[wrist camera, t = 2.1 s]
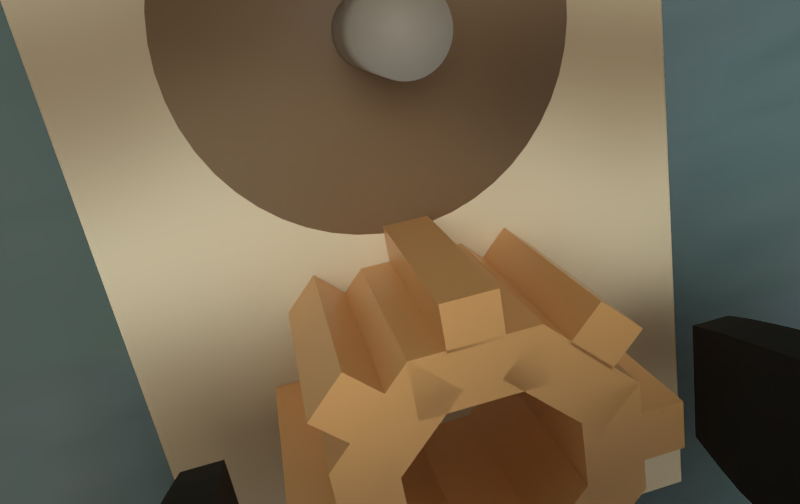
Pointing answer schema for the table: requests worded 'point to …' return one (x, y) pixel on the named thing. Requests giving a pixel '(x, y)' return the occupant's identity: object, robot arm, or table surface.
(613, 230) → the gear board
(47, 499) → the table surface
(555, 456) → the orange gear
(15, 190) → the table surface
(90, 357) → the table surface
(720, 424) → the robot arm
